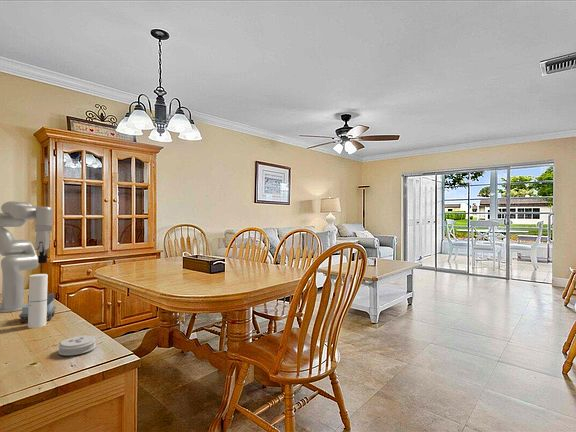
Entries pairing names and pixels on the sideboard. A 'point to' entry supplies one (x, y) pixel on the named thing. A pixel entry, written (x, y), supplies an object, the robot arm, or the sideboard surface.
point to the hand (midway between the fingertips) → (42, 262)
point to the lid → (77, 345)
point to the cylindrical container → (37, 300)
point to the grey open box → (49, 308)
